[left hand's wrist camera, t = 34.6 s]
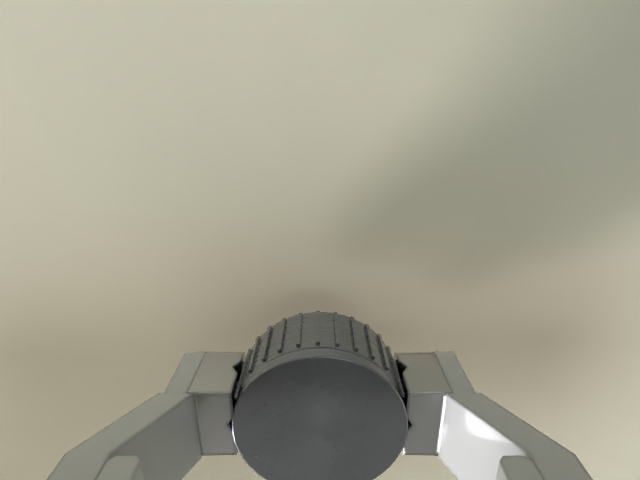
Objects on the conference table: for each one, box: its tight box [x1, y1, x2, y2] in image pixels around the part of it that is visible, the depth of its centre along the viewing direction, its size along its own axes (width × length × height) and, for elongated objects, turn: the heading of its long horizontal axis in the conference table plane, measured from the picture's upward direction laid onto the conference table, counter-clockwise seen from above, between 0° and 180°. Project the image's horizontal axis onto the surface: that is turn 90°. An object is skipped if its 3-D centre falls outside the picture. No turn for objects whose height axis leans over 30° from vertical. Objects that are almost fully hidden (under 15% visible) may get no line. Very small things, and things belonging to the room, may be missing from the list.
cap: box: [232, 311, 408, 480], centre depth 10 cm, size 4×4×2 cm
